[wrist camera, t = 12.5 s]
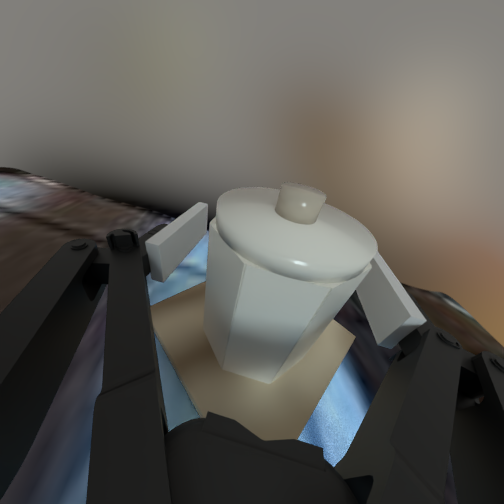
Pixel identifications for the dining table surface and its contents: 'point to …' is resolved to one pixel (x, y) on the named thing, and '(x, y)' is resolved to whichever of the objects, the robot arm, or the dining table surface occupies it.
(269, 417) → the board
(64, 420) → the dining table surface
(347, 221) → the white lidded jar
